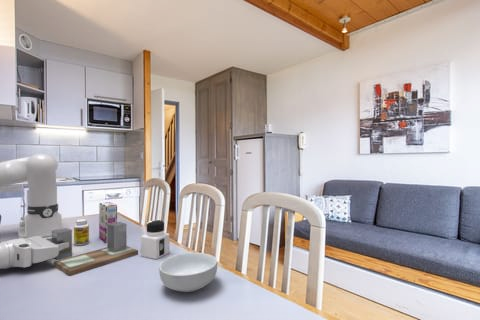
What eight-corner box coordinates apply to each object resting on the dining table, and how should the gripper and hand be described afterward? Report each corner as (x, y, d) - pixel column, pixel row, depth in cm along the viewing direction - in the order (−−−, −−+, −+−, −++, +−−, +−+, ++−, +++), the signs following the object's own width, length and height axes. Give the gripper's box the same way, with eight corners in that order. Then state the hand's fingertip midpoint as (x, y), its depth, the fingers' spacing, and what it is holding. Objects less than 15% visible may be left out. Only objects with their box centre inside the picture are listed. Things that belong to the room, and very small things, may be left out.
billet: (107, 249, 104) (107, 224, 104) (119, 246, 108) (119, 221, 108) (113, 252, 101) (113, 226, 101) (126, 249, 105) (126, 223, 105)
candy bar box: (117, 241, 120) (117, 204, 120) (105, 243, 117) (105, 206, 117) (110, 235, 128) (110, 201, 128) (98, 237, 125) (98, 202, 125)
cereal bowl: (186, 269, 91) (186, 248, 91) (227, 281, 83) (228, 258, 83) (146, 290, 76) (146, 266, 76) (191, 307, 68) (191, 280, 68)
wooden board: (54, 265, 93) (54, 260, 93) (120, 247, 112) (120, 242, 112) (69, 276, 85) (69, 270, 85) (138, 254, 104) (138, 249, 104)
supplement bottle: (74, 246, 113) (74, 222, 112) (73, 243, 117) (73, 219, 117) (89, 244, 116) (89, 220, 116) (88, 240, 120) (88, 218, 120)
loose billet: (51, 257, 101) (51, 230, 101) (66, 253, 105) (66, 227, 105) (56, 260, 98) (56, 232, 98) (71, 256, 102) (71, 230, 102)
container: (169, 252, 106) (170, 220, 106) (156, 259, 99) (156, 224, 99) (154, 249, 109) (154, 218, 109) (140, 256, 102) (140, 222, 102)
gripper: (8, 254, 97) (53, 244, 108) (26, 269, 85) (74, 256, 96) (8, 237, 97) (52, 228, 108) (26, 249, 85) (74, 238, 96)
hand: (63, 241), depth 102 cm, fingers open, 8 cm apart
